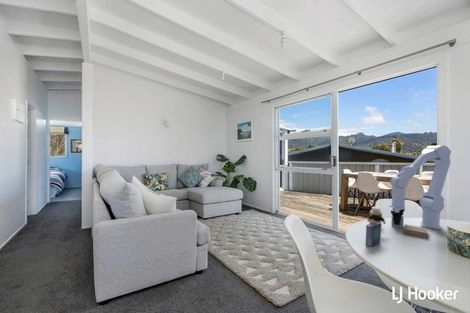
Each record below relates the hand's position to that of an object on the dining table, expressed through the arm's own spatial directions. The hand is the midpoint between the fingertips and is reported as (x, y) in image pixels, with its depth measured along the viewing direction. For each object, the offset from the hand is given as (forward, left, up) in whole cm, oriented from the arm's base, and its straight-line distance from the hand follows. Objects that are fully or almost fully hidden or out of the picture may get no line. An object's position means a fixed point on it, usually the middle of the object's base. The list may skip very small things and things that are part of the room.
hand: (397, 222), depth 126 cm
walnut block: (+9, +8, -2) cm, 12 cm away
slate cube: (0, 0, -2) cm, 2 cm away
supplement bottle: (+10, -9, -2) cm, 14 cm away
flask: (+38, -6, -2) cm, 39 cm away
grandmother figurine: (+22, -7, -2) cm, 23 cm away
